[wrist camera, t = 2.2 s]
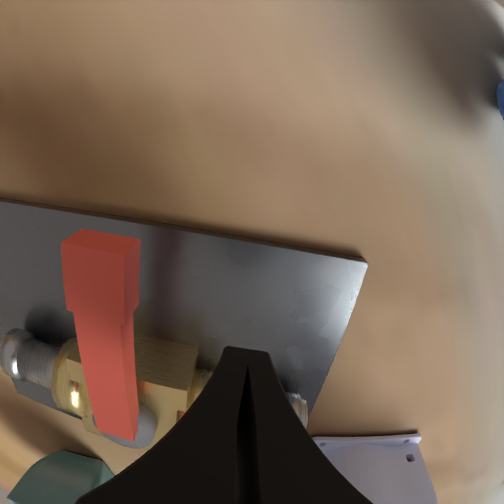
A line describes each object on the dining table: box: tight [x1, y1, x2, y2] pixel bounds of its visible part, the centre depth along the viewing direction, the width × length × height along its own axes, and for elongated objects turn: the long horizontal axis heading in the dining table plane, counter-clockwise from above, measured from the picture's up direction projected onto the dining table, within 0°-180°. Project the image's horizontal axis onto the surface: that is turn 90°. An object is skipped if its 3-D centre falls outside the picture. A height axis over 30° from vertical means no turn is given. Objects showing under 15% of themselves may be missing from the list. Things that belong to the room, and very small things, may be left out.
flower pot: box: [7, 450, 114, 504], centre depth 19 cm, size 9×9×9 cm
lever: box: [61, 229, 158, 448], centre depth 11 cm, size 11×3×2 cm, turn 170°
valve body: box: [0, 198, 368, 450], centre depth 15 cm, size 22×16×4 cm
